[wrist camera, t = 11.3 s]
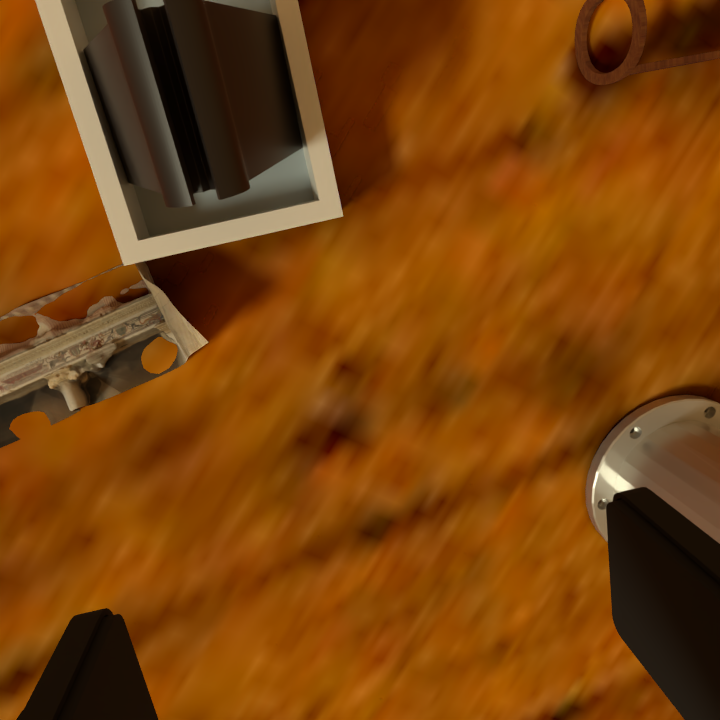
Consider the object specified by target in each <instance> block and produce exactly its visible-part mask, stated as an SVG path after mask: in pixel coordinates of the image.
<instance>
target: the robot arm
mask: <svg viewBox="0 0 720 720" xmlns="http://www.w3.org/2000/svg"><path fill="white" fill-rule="evenodd" d="M586 505H587V509H588V513H589V517H590V519H591V521H592V523H593V525H594V527H595V529H596V530H597V531H598V532H599V533H600V535H601V536H602V537H603V538H604V539H605V540H606V541H607V542H608V551H609V567H610V584H611V600H612V616H613V621H614V624H615V627H616V629H617V631H618V633H619V635H620V636H621V638H622V639H623V641H624V642H625V643H626V644H627V646H628V647H629V648H630V650H631V651H632V652H633V653H634V655H635V656H636V657H637V659H638V660H639V661H640V663H641V664H642V665H643V666H644V668H645V669H646V670H647V672H648V673H649V674H650V675H651V677H652V678H653V679H654V681H655V682H656V683H657V684H658V686H659V687H660V688H661V690H662V691H663V692H664V693H665V695H666V696H667V697H668V699H669V700H670V701H671V702H672V704H673V705H674V706H675V708H676V709H677V710H678V712H679V713H680V714H681V715H682V717H683V718H684V719H685V720H720V404H719V403H717V402H715V401H713V400H710V399H707V398H705V397H702V396H694V395H676V396H669V397H665V398H662V399H658V400H655V401H653V402H650V403H648V404H646V405H644V406H642V407H640V408H638V409H637V410H635V411H634V412H632V413H631V414H629V415H628V416H627V417H625V418H624V419H623V420H622V421H621V422H620V423H619V424H618V425H617V426H616V427H614V428H613V429H612V431H611V432H610V433H609V434H608V436H607V437H606V438H605V440H604V441H603V442H602V443H601V445H600V447H599V449H598V451H597V453H596V454H595V456H594V458H593V461H592V464H591V467H590V469H589V472H588V477H587V483H586ZM16 720H158V717H157V714H156V711H155V709H154V706H153V703H152V700H151V697H150V694H149V691H148V688H147V685H146V683H145V680H144V677H143V674H142V671H141V668H140V665H139V662H138V659H137V657H136V654H135V651H134V648H133V645H132V642H131V639H130V636H129V633H128V631H127V628H126V625H125V622H124V619H123V617H122V616H121V615H120V614H116V615H113V614H112V612H111V611H110V610H109V609H107V608H105V609H101V610H96V611H92V612H88V613H83V614H79V615H76V616H74V617H73V618H72V619H71V620H70V622H69V624H68V626H67V628H66V630H65V632H64V634H63V636H62V638H61V639H60V641H59V643H58V645H57V647H56V649H55V651H54V653H53V655H52V657H51V659H50V661H49V662H48V664H47V666H46V668H45V670H44V672H43V674H42V676H41V678H40V680H39V682H38V684H37V685H36V687H35V689H34V691H33V693H32V695H31V697H30V699H29V701H28V703H27V705H26V707H25V708H24V710H23V711H22V712H21V714H20V715H19V716H18V718H17V719H16Z"/></svg>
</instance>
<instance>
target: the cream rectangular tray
mask: <svg viewBox="0 0 720 720" xmlns="http://www.w3.org/2000/svg"><path fill="white" fill-rule="evenodd" d="M35 1H36V4H37V7H38V10H39V13H40V16H41V19H42V22H43V25H44V28H45V31H46V34H47V37H48V40H49V43H50V46H51V49H52V52H53V55H54V58H55V61H56V64H57V67H58V70H59V73H60V76H61V79H62V82H63V85H64V88H65V91H66V94H67V97H68V100H69V103H70V106H71V109H72V112H73V115H74V118H75V121H76V124H77V127H78V130H79V133H80V136H81V139H82V142H83V145H84V148H85V151H86V154H87V157H88V160H89V163H90V166H91V169H92V172H93V175H94V178H95V181H96V184H97V187H98V190H99V193H100V196H101V199H102V202H103V205H104V207H105V210H106V213H107V216H108V219H109V222H110V225H111V228H112V231H113V234H114V237H115V240H116V243H117V246H118V249H119V252H120V255H121V258H122V261H123V264H124V266H125V265H130V264H134V263H139V262H143V261H147V260H152V259H156V258H161V257H165V256H170V255H174V254H179V253H183V252H187V251H192V250H196V249H201V248H205V247H210V246H214V245H218V244H223V243H227V242H232V241H236V240H241V239H245V238H250V237H254V236H258V235H263V234H267V233H272V232H276V231H281V230H285V229H289V228H294V227H298V226H303V225H307V224H312V223H316V222H321V221H325V220H329V219H334V218H338V217H343V212H342V208H341V203H340V198H339V193H338V189H337V184H336V179H335V175H334V170H333V165H332V160H331V156H330V151H329V146H328V141H327V137H326V132H325V127H324V122H323V118H322V113H321V108H320V103H319V99H318V94H317V89H316V84H315V80H314V75H313V70H312V65H311V61H310V56H309V51H308V46H307V42H306V37H305V32H304V28H303V23H302V18H301V13H300V9H299V4H298V0H205V1H210V2H215V3H220V4H224V5H229V6H234V7H239V8H243V9H248V10H253V11H258V12H263V13H267V14H272V15H276V16H277V21H278V26H279V31H280V36H281V41H282V46H283V51H284V55H285V60H286V65H287V70H288V75H289V80H290V85H291V90H292V95H293V100H294V104H295V109H296V114H297V119H298V124H299V129H300V134H301V139H302V144H303V148H302V149H300V150H298V151H297V152H295V153H293V154H292V155H290V156H288V157H287V158H285V159H284V160H282V161H280V162H279V163H277V164H275V165H274V166H272V167H271V168H269V169H267V170H266V171H264V172H262V173H261V174H259V175H258V176H256V177H254V178H253V179H251V180H250V181H249V183H250V189H249V190H247V191H245V192H243V193H241V194H238V195H236V196H233V197H229V198H226V199H222V200H219V199H218V197H217V193H216V190H208V191H205V192H202V193H194V194H193V196H194V199H195V203H196V204H195V205H193V206H188V207H179V208H169V207H166V205H165V202H164V199H163V196H162V194H161V193H158V192H155V191H152V190H149V189H146V188H142V187H139V186H136V185H133V184H130V183H128V180H127V177H126V174H125V171H124V168H123V165H122V162H121V159H120V157H119V154H118V151H117V148H116V145H115V142H114V139H113V136H112V133H111V130H110V127H109V124H108V121H107V119H106V116H105V113H104V110H103V107H102V104H101V101H100V98H99V95H98V92H97V89H96V86H95V83H94V80H93V78H92V75H91V72H90V69H89V66H88V63H87V60H86V57H85V54H84V51H83V50H84V48H85V47H86V46H87V45H88V44H89V43H90V42H91V41H92V40H93V39H94V38H95V37H96V36H97V35H98V33H99V32H100V31H101V30H102V29H103V28H104V27H105V26H106V25H107V20H106V17H105V14H104V11H103V8H102V6H103V5H104V4H106V3H107V2H110V1H112V0H35ZM136 3H137V7H138V9H144V8H148V7H160V6H162V5H164V2H163V0H136Z"/></svg>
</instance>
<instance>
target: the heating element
mask: <svg viewBox="0 0 720 720" xmlns="http://www.w3.org/2000/svg"><path fill="white" fill-rule="evenodd" d="M135 264H136V266H137V268H138V270H139V272H140V275H141V277H142V278H143V280H141V281H140V282H139V283H137V284H135V285H132V286H131V287H130V288H132V289H134V288H147V289H148V291H149V294H148V295H145V296H142V297H140V298H137V299H135V300H132V301H129V302H127V303H121V302H117V301H116V300H115V298H113V297H112V296H109V297H104V298H102V299H101V300H100V301H99V302H98V303H97V304H95V305H93V306H91V307H90V308H89V309H88V311H87V317H86V318H85V319H73V320H69V321H62V322H59V321H56V320H52V319H50V318H49V317H46V316H43V315H40V314H36V315H34V314H35V313H36V312H37V311H39V310H40V308H41V307H43V306H44V305H46V304H48V303H50V302H52V301H55V299H57V298H58V297H59V296H60V295H62V294H63V293H65V292H67V291H69V290H71V289H73V288H75V287H77V286H78V285H80V284H81V283H83V282H81V283H79V284H76V285H74V286H71V287H69V288H67V289H64V290H62V291H59V292H56V293H54V294H51V295H48V296H45V297H43V298H41V299H38V300H36V301H33V302H30V303H28V304H25V305H23V306H20V307H18V308H16V309H14V310H13V311H11V312H10V313H8V314H6V315H5V316H3V317H1V318H0V321H1V320H3V319H6V318H8V317H12V316H27V315H32V316H34V317H36V321H37V323H38V324H39V325H40V328H39V329H38V333H37V336H36V337H35V338H31V339H28V340H27V341H25V342H22V343H16V344H1V345H0V448H1V447H3V446H6V445H8V444H10V443H13V442H15V441H17V440H20V439H19V438H18V437H16V436H15V434H14V433H13V432H12V431H11V430H9V427H10V424H11V422H12V420H13V419H15V418H16V417H17V416H20V415H22V414H24V413H28V412H33V411H41V412H44V413H45V414H46V415H47V417H48V418H49V420H50V422H51V425H53V424H55V423H57V422H59V421H61V420H63V419H65V418H67V417H69V416H71V415H73V414H75V413H76V412H78V411H80V409H78V408H80V407H83V406H88V405H92V404H95V403H97V402H100V401H102V400H105V399H107V398H110V397H112V396H115V395H117V394H120V393H122V392H124V391H126V390H129V389H131V388H133V387H136V386H138V385H140V384H143V383H145V382H147V381H150V380H152V379H154V378H156V377H159V376H161V375H163V374H165V373H167V372H170V371H172V370H174V369H176V368H177V367H179V366H181V365H183V364H184V363H185V362H186V361H187V359H188V357H189V356H190V355H191V354H192V353H194V352H195V351H197V350H198V349H200V348H201V347H203V346H204V345H205V344H207V343H208V341H207V340H206V339H205V338H204V337H203V336H202V335H201V334H200V333H199V332H198V331H197V330H196V329H195V328H194V327H193V326H192V325H191V324H190V323H189V322H188V321H187V320H186V319H185V318H184V317H183V316H182V315H181V314H180V313H179V312H178V310H177V309H176V308H175V307H174V306H173V304H172V303H171V302H170V300H169V299H168V297H167V296H166V295H165V294H164V292H163V291H162V290H161V289H159V288H158V287H157V286H155V284H154V281H153V279H152V276H151V274H150V271H149V268H148V266H147V264H146V263H145V262H144V261H143V262H139V263H135ZM122 265H124V264H121V265H119V266H117V267H120V266H122ZM117 267H115V268H117ZM115 268H112V269H110V270H108V271H111V270H113V269H115ZM108 271H106V272H108ZM106 272H104V273H106ZM102 274H103V273H102ZM99 275H101V274H99ZM97 276H98V275H97ZM95 277H96V276H95ZM93 278H94V277H93ZM91 279H92V278H91ZM88 280H89V279H88ZM86 281H87V280H86ZM84 282H85V281H84ZM130 288H129V289H130ZM128 291H129V290H128V289H124V290H122V291H121V293H120V294H125V293H126V292H128ZM157 337H163V338H164V339H166V340H167V341H170V342H173V343H174V344H176V345H177V347H178V352H177V356H176V359H175V361H174V362H173V364H172V366H171V367H170V368H169V369H167V370H166V371H164V372H162V373H160V374H153V373H149V372H148V371H146V370H145V369H144V368H143V365H142V362H141V355H142V352H143V350H144V348H145V347H146V346H147V345H148V344H149V343H151V342H152V341H153V340H154V339H155V338H157Z"/></svg>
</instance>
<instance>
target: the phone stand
mask: <svg viewBox="0 0 720 720" xmlns="http://www.w3.org/2000/svg"><path fill="white" fill-rule="evenodd" d="M163 2H164V5H162V6H160V7H148V8H144V9H138V7H137V3H136V0H112V1H110V2H107V3H106V4H104V5H103V6H102V8H103V11H104V14H105V17H106V20H107V25H106V26H105V27H104V28H103V29H102V30H101V31H100V32H99V33H98V35H97V36H96V37H95V38H94V39H93V40H92V41H91V42H90V43H89V44H88V45H87V46H86V47H85V48H84V50H83V51H84V54H85V57H86V60H87V63H88V66H89V69H90V72H91V75H92V78H93V80H94V83H95V86H96V89H97V92H98V95H99V98H100V101H101V104H102V107H103V110H104V113H105V116H106V119H107V121H108V124H109V127H110V130H111V133H112V136H113V139H114V142H115V145H116V148H117V151H118V154H119V157H120V159H121V162H122V165H123V168H124V171H125V174H126V177H127V180H128V183H130V184H133V185H136V186H139V187H142V188H146V189H149V190H152V191H155V192H158V193H161V194H162V196H163V199H164V202H165V205H166V207H169V208H179V207H188V206H193V205H195V204H196V203H195V199H194V196H193V194H194V193H202V192H205V191H208V190H216V193H217V197H218V199H219V200H222V199H226V198H229V197H233V196H236V195H238V194H241V193H243V192H245V191H247V190H249V189H250V183H249V181H250V180H251V179H253V178H254V177H256V176H258V175H259V174H261V173H262V172H264V171H266V170H267V169H269V168H271V167H272V166H274V165H275V164H277V163H279V162H280V161H282V160H284V159H285V158H287V157H288V156H290V155H292V154H293V153H295V152H297V151H298V150H300V149H302V148H303V144H302V139H301V134H300V129H299V124H298V119H297V114H296V109H295V104H294V100H293V95H292V90H291V85H290V80H289V75H288V70H287V65H286V60H285V55H284V51H283V46H282V41H281V36H280V31H279V26H278V21H277V16H276V15H272V14H267V13H263V12H258V11H253V10H248V9H243V8H239V7H234V6H229V5H224V4H220V3H215V2H210V1H205V0H163Z"/></svg>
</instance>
